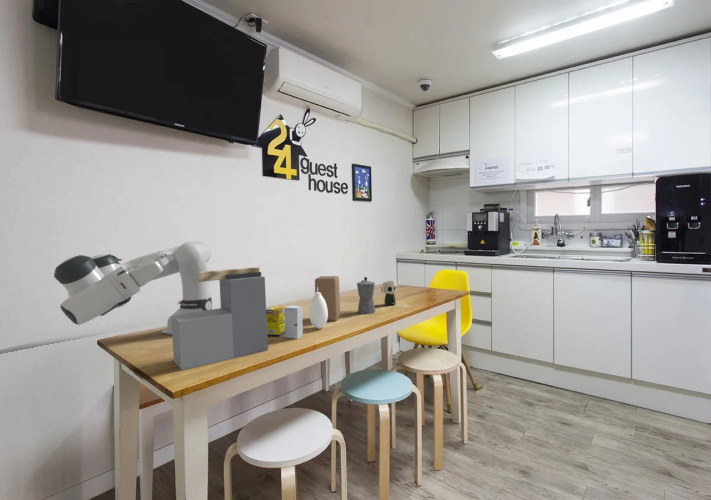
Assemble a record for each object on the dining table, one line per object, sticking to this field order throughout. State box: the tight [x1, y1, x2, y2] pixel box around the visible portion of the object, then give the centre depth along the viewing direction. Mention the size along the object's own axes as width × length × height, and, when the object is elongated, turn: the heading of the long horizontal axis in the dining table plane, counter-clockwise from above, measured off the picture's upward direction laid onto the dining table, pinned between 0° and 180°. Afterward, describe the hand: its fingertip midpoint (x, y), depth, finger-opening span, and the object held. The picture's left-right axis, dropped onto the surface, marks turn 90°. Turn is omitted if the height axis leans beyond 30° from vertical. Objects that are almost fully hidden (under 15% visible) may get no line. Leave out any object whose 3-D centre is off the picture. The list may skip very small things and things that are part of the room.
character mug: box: [380, 280, 399, 306], centre depth 200 cm, size 11×7×13 cm, turn 117°
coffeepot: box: [356, 276, 376, 315], centre depth 184 cm, size 15×9×18 cm, turn 12°
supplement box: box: [266, 306, 286, 337], centre depth 146 cm, size 6×6×11 cm
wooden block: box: [314, 275, 341, 322], centre depth 170 cm, size 10×10×20 cm
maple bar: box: [198, 266, 261, 282], centre depth 124 cm, size 20×3×3 cm, turn 127°
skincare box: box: [284, 305, 304, 340], centre depth 142 cm, size 6×4×12 cm
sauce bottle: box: [308, 287, 328, 330], centre depth 154 cm, size 8×8×18 cm
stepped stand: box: [170, 271, 269, 371], centre depth 122 cm, size 28×12×28 cm, turn 127°
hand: (169, 255), depth 112 cm, fingers open, 8 cm apart
